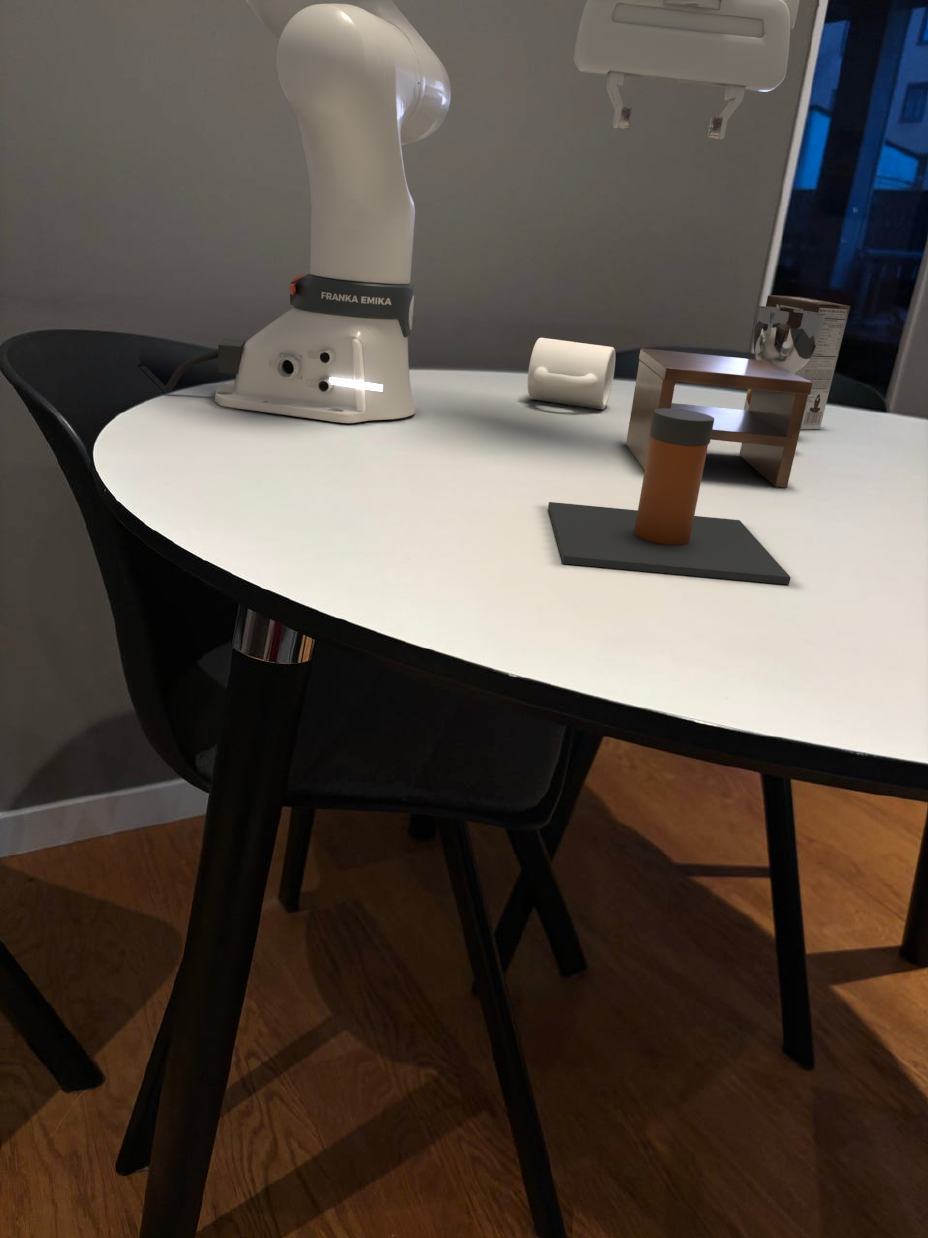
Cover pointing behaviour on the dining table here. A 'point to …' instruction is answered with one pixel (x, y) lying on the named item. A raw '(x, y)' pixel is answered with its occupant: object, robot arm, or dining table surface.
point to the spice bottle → (672, 475)
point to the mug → (571, 373)
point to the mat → (661, 546)
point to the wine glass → (786, 336)
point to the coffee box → (816, 353)
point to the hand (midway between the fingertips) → (667, 133)
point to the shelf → (760, 429)
